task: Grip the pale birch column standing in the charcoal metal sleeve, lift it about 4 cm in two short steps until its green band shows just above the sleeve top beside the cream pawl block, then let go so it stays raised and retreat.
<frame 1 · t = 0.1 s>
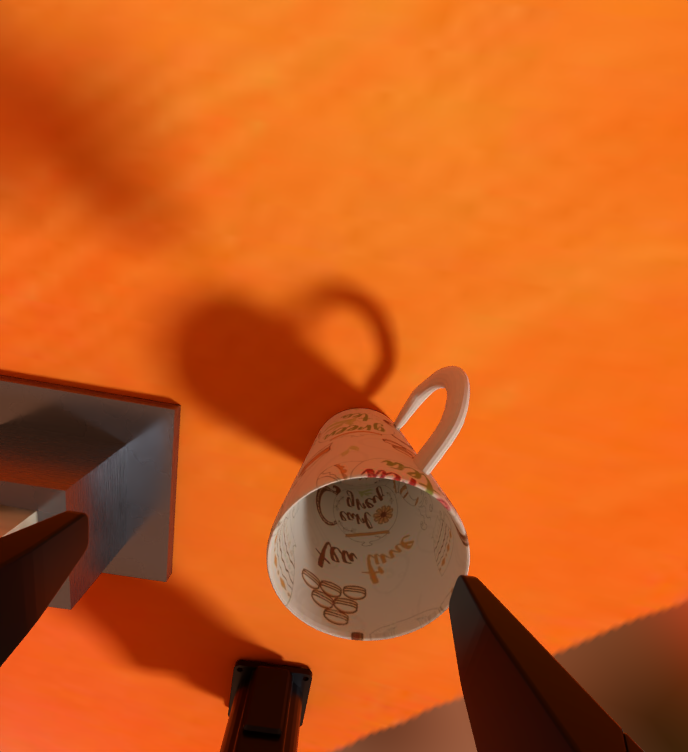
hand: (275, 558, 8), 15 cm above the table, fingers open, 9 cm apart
column: (0, 537, 19), point 6 cm above the table, slide at 0.0 cm
stand base: (76, 480, 24), on the table
mug: (376, 422, 23), on the table
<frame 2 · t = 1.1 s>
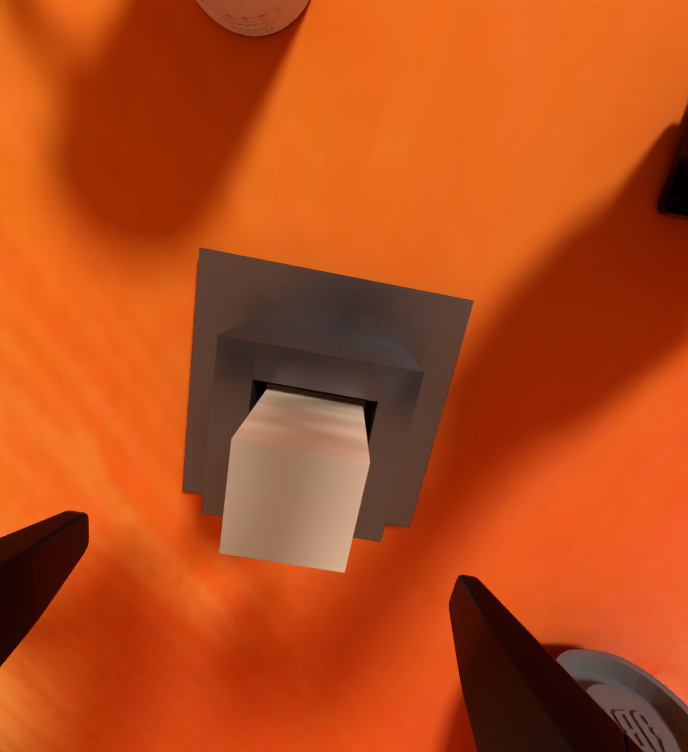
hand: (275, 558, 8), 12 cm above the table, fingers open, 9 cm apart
bluetooth speaker: (537, 733, 28), on the table
column: (307, 442, 15), point 6 cm above the table, slide at 0.0 cm
stand base: (317, 398, 20), on the table
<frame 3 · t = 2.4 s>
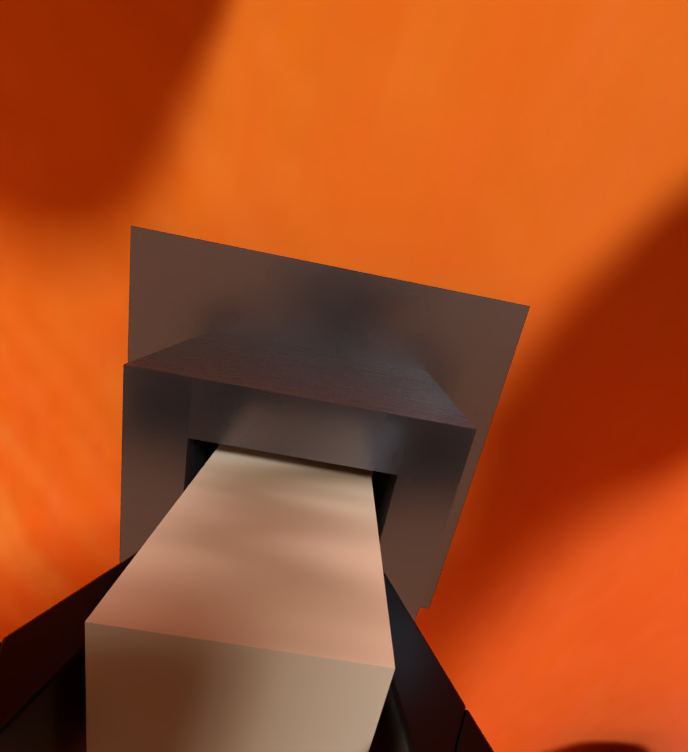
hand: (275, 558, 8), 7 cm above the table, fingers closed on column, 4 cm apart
column: (282, 532, 9), point 6 cm above the table, slide at 0.0 cm, touching gripper
stand base: (305, 438, 15), on the table
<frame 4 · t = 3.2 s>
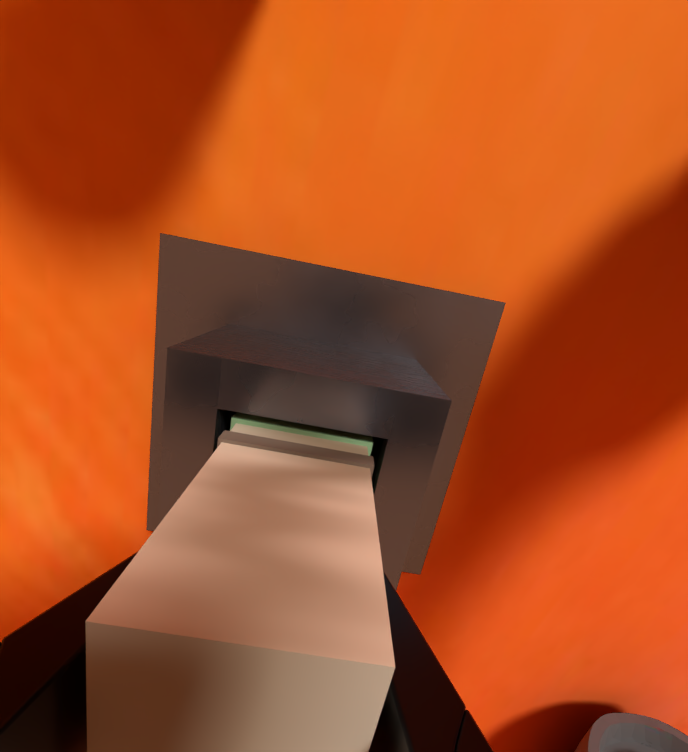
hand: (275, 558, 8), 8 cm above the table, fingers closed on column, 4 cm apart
column: (282, 531, 9), point 7 cm above the table, slide at 1.9 cm, touching gripper
stand base: (310, 420, 16), on the table
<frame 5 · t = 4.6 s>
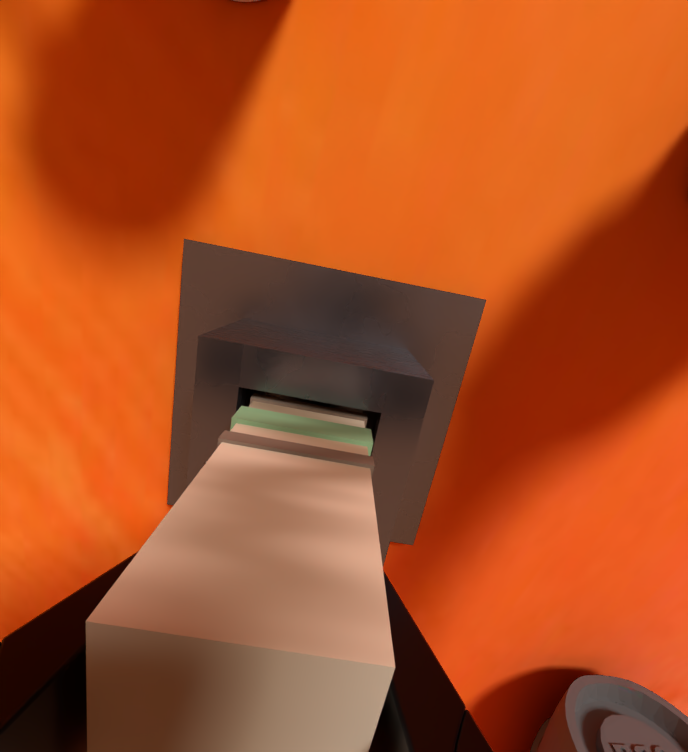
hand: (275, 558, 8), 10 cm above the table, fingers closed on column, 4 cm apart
column: (282, 531, 9), point 10 cm above the table, slide at 3.9 cm, touching gripper
stand base: (314, 405, 18), on the table
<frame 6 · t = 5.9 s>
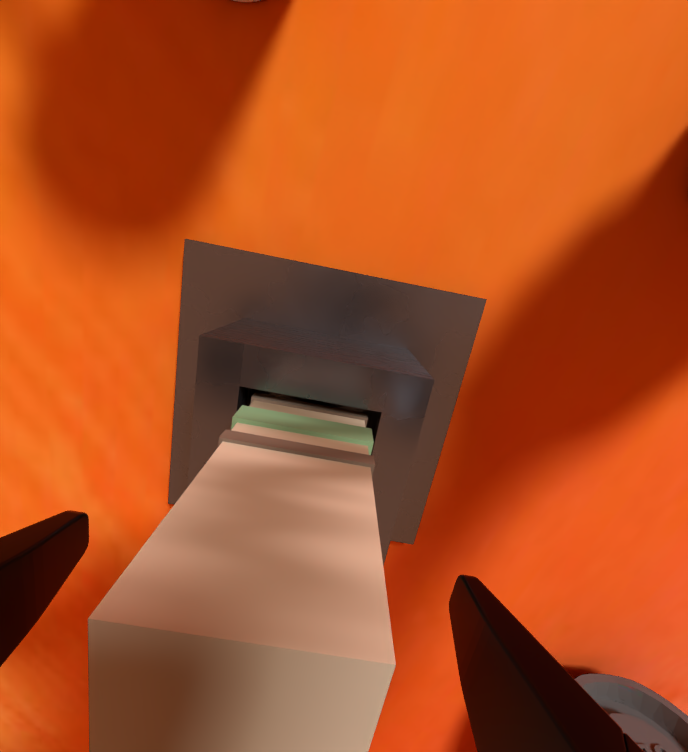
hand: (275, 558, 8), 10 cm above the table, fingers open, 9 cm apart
column: (283, 530, 9), point 10 cm above the table, slide at 3.9 cm
stand base: (314, 405, 18), on the table
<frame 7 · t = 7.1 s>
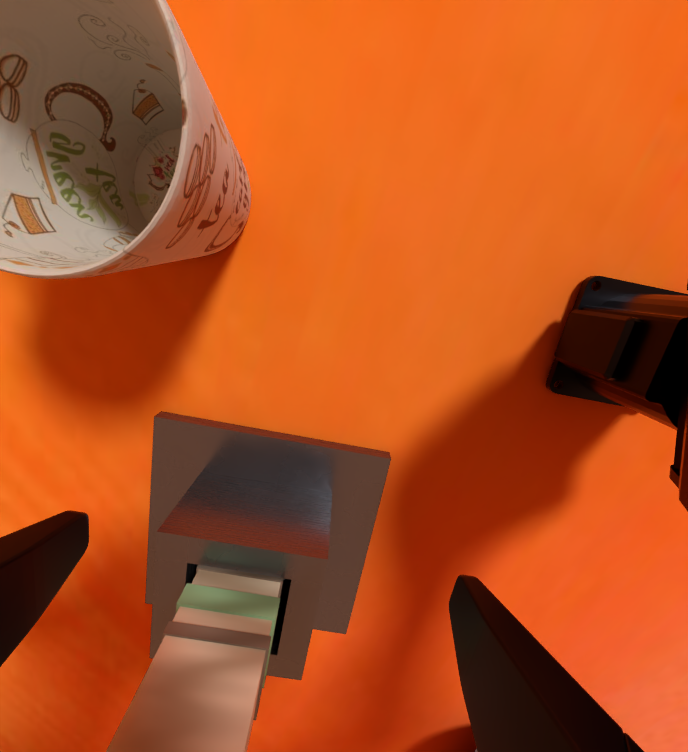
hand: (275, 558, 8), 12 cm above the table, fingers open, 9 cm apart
column: (206, 694, 14), point 10 cm above the table, slide at 3.9 cm
stand base: (262, 527, 23), on the table
mug: (156, 169, 17), on the table
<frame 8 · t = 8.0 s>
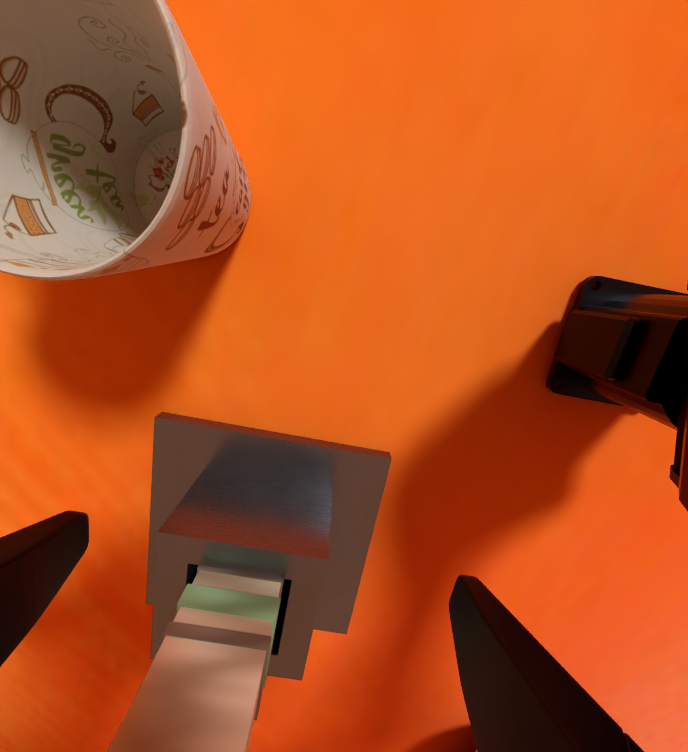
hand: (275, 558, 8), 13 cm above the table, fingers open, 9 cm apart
column: (206, 694, 14), point 10 cm above the table, slide at 3.9 cm
stand base: (262, 527, 23), on the table
mug: (156, 170, 17), on the table
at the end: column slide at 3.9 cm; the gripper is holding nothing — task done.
